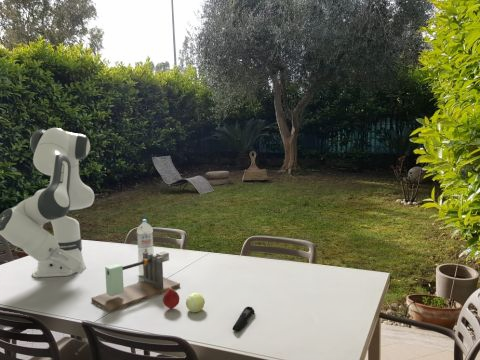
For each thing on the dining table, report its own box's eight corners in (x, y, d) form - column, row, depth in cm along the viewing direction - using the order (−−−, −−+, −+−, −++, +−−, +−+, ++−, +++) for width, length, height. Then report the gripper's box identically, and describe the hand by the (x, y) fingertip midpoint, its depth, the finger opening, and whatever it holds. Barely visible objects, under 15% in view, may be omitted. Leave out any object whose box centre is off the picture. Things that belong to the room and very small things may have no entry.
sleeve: (111, 296, 146) (110, 269, 145) (106, 293, 148) (105, 266, 147) (123, 292, 150) (122, 265, 148) (118, 289, 152) (117, 263, 151)
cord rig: (110, 312, 140) (108, 274, 139) (91, 301, 150) (89, 265, 148) (179, 287, 163) (178, 253, 161) (159, 278, 172) (158, 247, 171)
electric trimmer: (229, 334, 125) (229, 324, 125) (245, 312, 140) (245, 303, 140) (240, 335, 124) (240, 326, 124) (255, 313, 139) (255, 305, 138)
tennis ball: (196, 287, 145) (182, 293, 140) (209, 294, 141) (196, 300, 136) (194, 303, 146) (181, 310, 141) (207, 311, 142) (194, 317, 137)
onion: (182, 306, 144) (181, 285, 143) (174, 313, 139) (174, 291, 138) (168, 304, 146) (167, 283, 145) (160, 311, 141) (159, 289, 140)
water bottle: (156, 272, 181) (154, 218, 178) (151, 277, 174) (149, 221, 171) (141, 271, 182) (139, 218, 179) (136, 277, 175) (134, 221, 172)
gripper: (64, 243, 123) (96, 266, 131) (37, 234, 136) (67, 255, 145) (51, 261, 120) (83, 283, 128) (24, 249, 133) (55, 270, 142)
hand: (75, 268), depth 136 cm, fingers open, 8 cm apart
